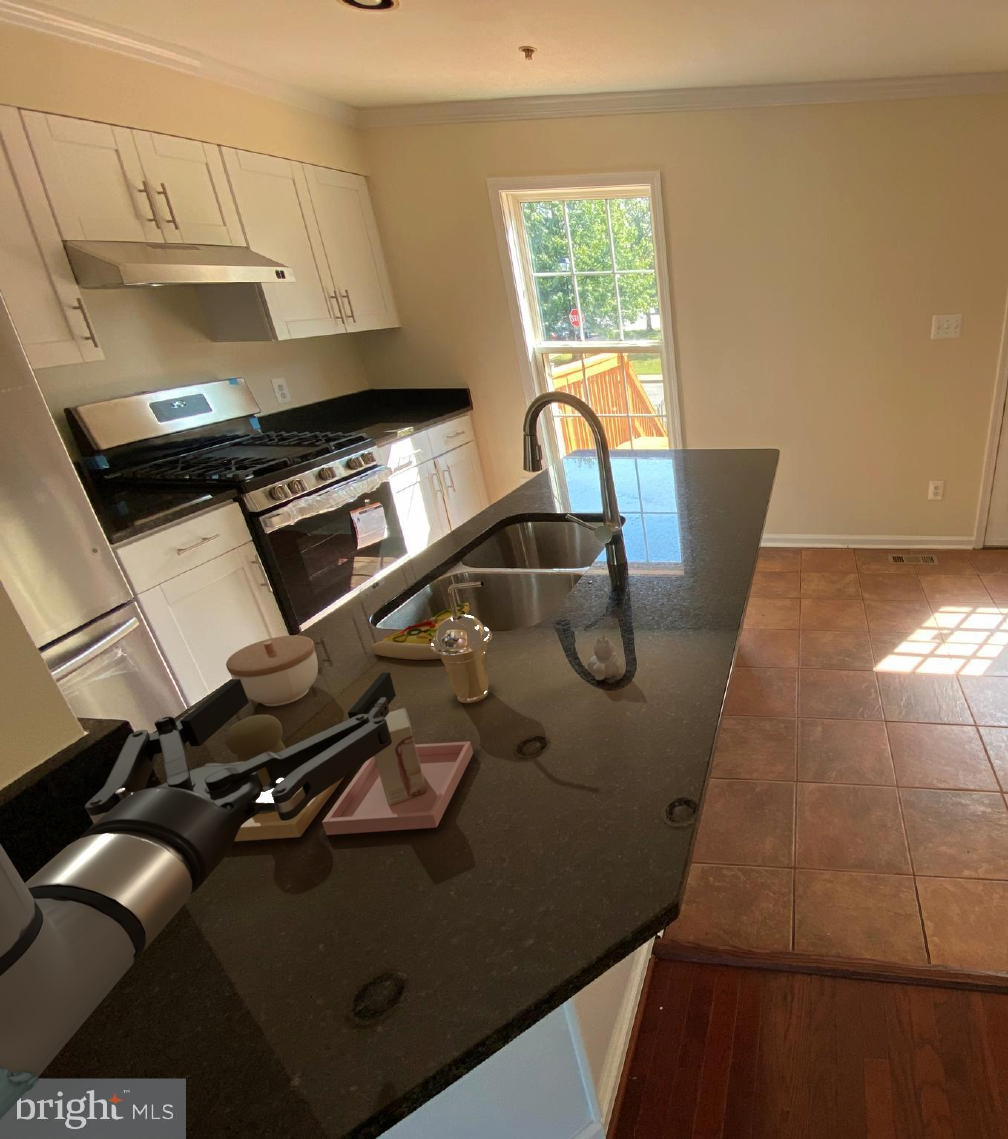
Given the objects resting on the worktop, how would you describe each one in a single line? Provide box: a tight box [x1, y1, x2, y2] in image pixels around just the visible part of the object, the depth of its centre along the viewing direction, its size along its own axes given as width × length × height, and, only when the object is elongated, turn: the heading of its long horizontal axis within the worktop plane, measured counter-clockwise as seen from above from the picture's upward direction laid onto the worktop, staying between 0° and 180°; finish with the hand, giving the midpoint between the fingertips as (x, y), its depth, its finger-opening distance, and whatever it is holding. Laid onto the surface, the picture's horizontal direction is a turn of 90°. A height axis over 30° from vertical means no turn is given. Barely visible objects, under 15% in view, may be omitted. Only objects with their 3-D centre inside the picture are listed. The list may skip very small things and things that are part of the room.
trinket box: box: [225, 634, 319, 707], centre depth 94 cm, size 11×11×9 cm
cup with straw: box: [431, 580, 493, 704], centre depth 92 cm, size 8×9×20 cm
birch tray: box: [234, 777, 345, 842], centre depth 75 cm, size 12×13×2 cm
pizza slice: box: [371, 602, 470, 661], centre depth 114 cm, size 16×21×3 cm
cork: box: [225, 714, 287, 814], centre depth 73 cm, size 6×6×11 cm
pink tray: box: [321, 741, 474, 836], centre depth 77 cm, size 12×13×2 cm
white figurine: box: [587, 632, 623, 681], centre depth 100 cm, size 5×7×8 cm
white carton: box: [374, 706, 426, 806], centre depth 75 cm, size 5×4×10 cm
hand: (315, 687), depth 60 cm, fingers open, 13 cm apart
